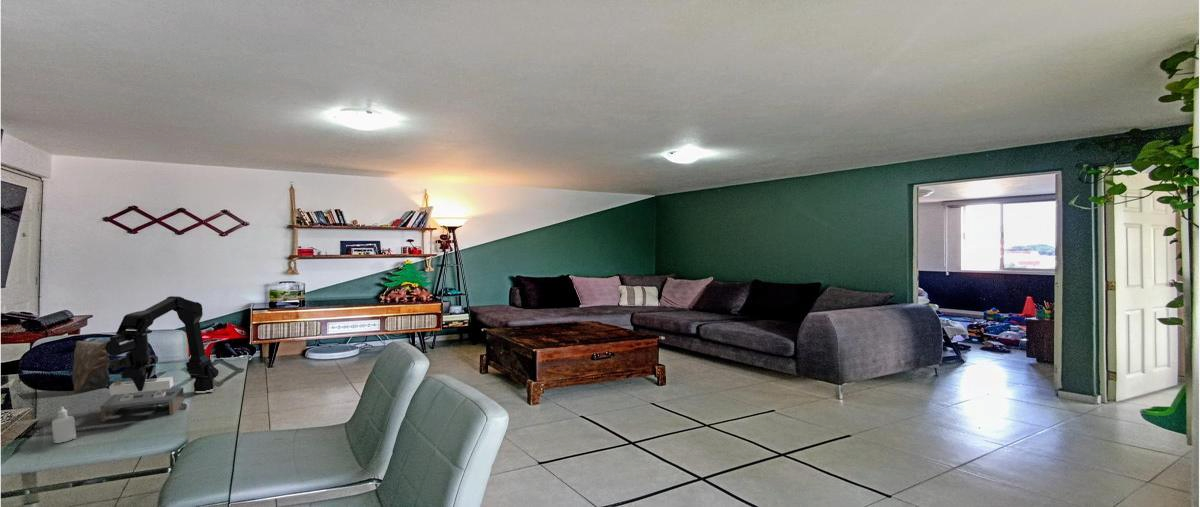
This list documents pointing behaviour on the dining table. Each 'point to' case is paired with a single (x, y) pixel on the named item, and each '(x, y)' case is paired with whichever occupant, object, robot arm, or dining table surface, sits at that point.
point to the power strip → (149, 385)
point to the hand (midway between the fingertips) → (142, 388)
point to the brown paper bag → (90, 366)
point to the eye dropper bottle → (63, 426)
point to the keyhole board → (142, 401)
